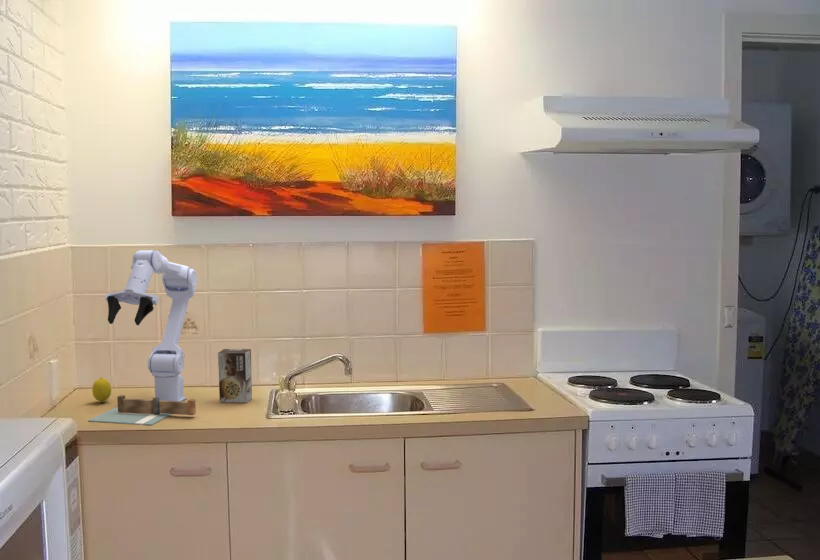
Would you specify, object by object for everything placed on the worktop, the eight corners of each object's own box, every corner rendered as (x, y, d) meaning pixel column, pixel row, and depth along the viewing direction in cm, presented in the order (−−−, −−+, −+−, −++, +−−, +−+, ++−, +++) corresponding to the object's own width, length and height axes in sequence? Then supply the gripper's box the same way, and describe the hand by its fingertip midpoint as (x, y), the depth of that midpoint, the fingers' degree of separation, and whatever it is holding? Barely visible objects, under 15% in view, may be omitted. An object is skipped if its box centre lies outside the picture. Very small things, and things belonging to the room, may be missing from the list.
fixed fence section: (117, 413, 240) (116, 396, 239) (121, 412, 242) (120, 395, 241) (158, 416, 237) (157, 398, 237) (161, 414, 239) (160, 397, 239)
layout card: (125, 403, 251) (125, 402, 251) (184, 407, 248) (184, 405, 248) (88, 421, 232) (88, 420, 232) (152, 425, 228) (151, 423, 228)
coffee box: (252, 398, 259) (251, 348, 257) (246, 403, 252) (245, 352, 251) (225, 397, 260) (224, 348, 258) (218, 402, 253) (217, 352, 252)
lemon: (114, 400, 256) (113, 375, 255) (108, 404, 250) (107, 379, 249) (96, 400, 256) (95, 375, 255) (90, 404, 250) (89, 379, 249)
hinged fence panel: (159, 413, 237) (158, 398, 237) (161, 412, 239) (161, 397, 239) (193, 415, 235) (192, 400, 235) (195, 413, 237) (195, 399, 236)
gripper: (108, 274, 229) (93, 312, 220) (158, 276, 228) (144, 315, 219) (116, 289, 234) (101, 327, 226) (165, 291, 233) (151, 330, 225)
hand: (123, 322), depth 223 cm, fingers open, 7 cm apart
